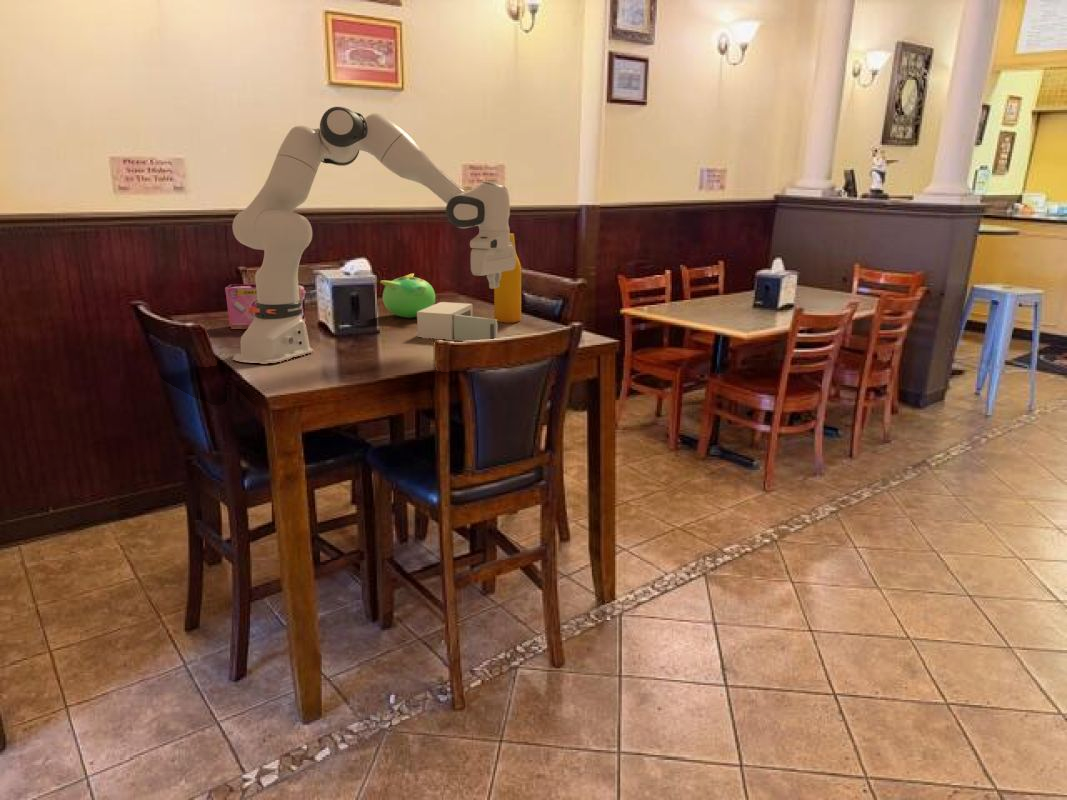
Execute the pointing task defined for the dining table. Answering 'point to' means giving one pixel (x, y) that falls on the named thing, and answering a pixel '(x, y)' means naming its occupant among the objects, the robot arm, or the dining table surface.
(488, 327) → the side door
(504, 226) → the robot arm
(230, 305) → the gum box
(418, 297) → the green horned ball
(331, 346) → the dining table surface
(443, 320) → the cabinet housing
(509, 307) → the beer bottle
